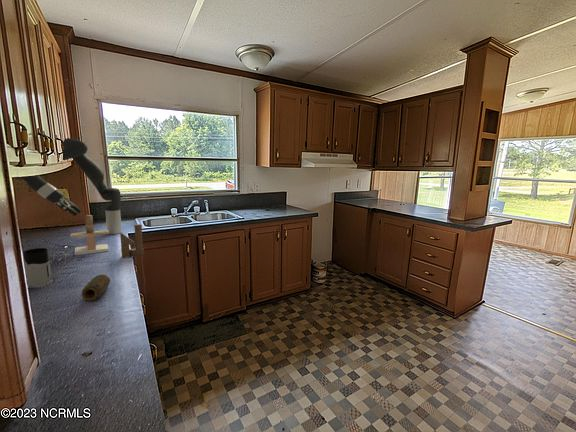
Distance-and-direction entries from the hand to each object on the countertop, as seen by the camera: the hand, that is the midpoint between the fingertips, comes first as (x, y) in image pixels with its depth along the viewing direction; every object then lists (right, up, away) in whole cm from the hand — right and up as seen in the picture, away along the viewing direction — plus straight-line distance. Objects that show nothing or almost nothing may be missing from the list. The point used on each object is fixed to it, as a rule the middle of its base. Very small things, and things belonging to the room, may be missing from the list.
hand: (78, 213), depth 157 cm
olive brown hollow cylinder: (+42, -33, -45) cm, 71 cm away
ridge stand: (+3, -22, +6) cm, 23 cm away
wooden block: (+31, -24, 0) cm, 39 cm away
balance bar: (+4, -13, +4) cm, 14 cm away
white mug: (+16, -31, -38) cm, 51 cm away
